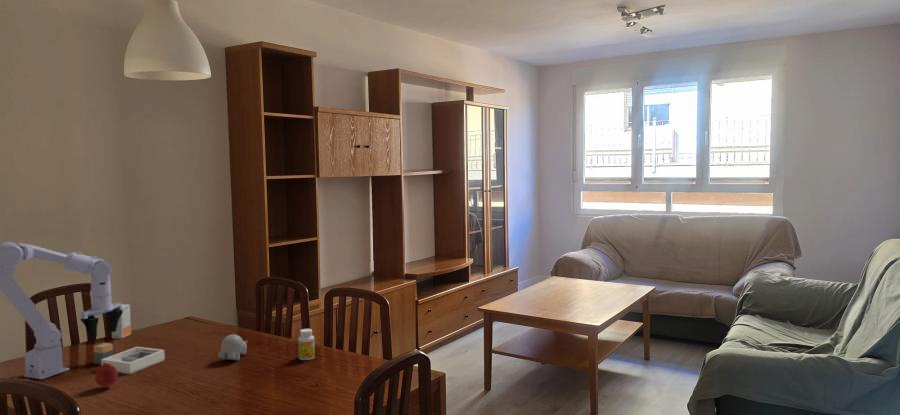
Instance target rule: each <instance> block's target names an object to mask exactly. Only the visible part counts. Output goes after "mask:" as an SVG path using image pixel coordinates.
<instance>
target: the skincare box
mask: <svg viewBox="0 0 900 415" xmlns="http://www.w3.org/2000/svg"><path fill="white" fill-rule="evenodd" d="M119 310H123V313H122V315H121V316H120V318H119V321H118V324H117V328H116V332H111V338H112V339H123V338H125V337H128V336H130V335H131V334H132V330H131V328H132V327H131V305H130V304H122V309H119Z"/></svg>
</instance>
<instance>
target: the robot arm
mask: <svg viewBox="0 0 900 415" xmlns="http://www.w3.org/2000/svg"><path fill="white" fill-rule="evenodd" d="M32 259H39V260H44V261H48V262H51V263H52V262H54V263H58V264H62V265H63V267H64V268H65V269H66V270H70V271H73V272H76V273H77V272H78V273H81V274H85V275H89V274H91V275H90V292H91V293H90V294H91V308H89V309H88V310H87V309H86V310H85V311H81V312H80V313H79V314H80V321H81V323H82V324H83V325H84V327H85V328H86V330H87V334H88V335H89V338H90V339H97V338H98V335H97V333H98V323H99V319H100V318H98V317H95V316H100V315H101V314H106V319H107V323H108V330H109V332H111V333H112V332H116V328H117V324H118V321H119V318H120V316H121V315H122V313H123V310H119V309H122V305H123V303H122V302H115V303H112V283H111V273H112V271H113V267H112V265H111V263H110V262H108V261H107V260H105V259H102V258H101V257H98V256H96V255H95V256H94V255H93V256H89V255H85V254H82V252H81V251H78V250H77V251H76V252H75V251H72V252H69V253H67V254H65V253H62V252H59V251H54V250H51V249H47V248H44V247H40V246H37V245H33V244H28V243H23V242H18V243H16V242H14V241H8V240H7V241H3V242H0V291H1V292H2V294H3V295H4V296H5V297H6V298H7V300H8V302H10V304H11V305H12V306H13V307H14V308H15V310H16V311H17V312H18V313H19V314H20V316H21V318H23V319H24V321H25V322H26V323H27V324H28V326H29V327H30V329H31V330H32V331H33V336H34V338H35V339H36V342H35V344H34V345H33V347H34V348H32V349H31V350H28V351H27V352H26V353H25V355H24V370H25V372H24V373H25V374H24V375H23V377H24V378H31V379H38V380H44V379H47V378H49V377H53V376H54V375H55V376H56V375H58V374H60V373H64V372H66V371H69V370H70V367H66V366H63V365H64V364H63V350H62V349H63V348H62V347H63V346H62V341H61V339H62V333H61V331H60V330H59V329H58V327H57V325H56V324H55V323H53V322H51V321H49V320H47V318H46V317H45V316H44V314H42V312H41V311H40V310H39V309H38V307H37V306H36V305H35V303H34V302H33V301H32V299H31V298H30V297H29V295H28V294H27V293H26V292H25V290H24V289H23V288H22V286H20V285H19V283H18V282H17V281H16V279H14V277H13V274H14V271H15V269H16V266H18V264H19V263H20V262H21V260H24V261H28V260H32Z"/></svg>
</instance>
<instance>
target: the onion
mask: <svg viewBox="0 0 900 415" xmlns="http://www.w3.org/2000/svg"><path fill="white" fill-rule="evenodd" d="M118 376H119V372H117V370H116V368H115V367H114V366H112V365H110V364H108V363H107V362H103V365H101V366H100V367H99V368H98V369H97V370H96V372H95V376H94V379H95V380H94V381H95V382H96V384H97V385H99V386H100V387H102V388H104V389H108V388H110V387H111V386H112V385H114V383H116V381H117V379H118Z"/></svg>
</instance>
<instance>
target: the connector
mask: <svg viewBox="0 0 900 415" xmlns="http://www.w3.org/2000/svg"><path fill="white" fill-rule="evenodd" d="M113 355H114V343H109V342H101V343H99V344H96V345H93V363H94V364H96V365H101V366H102V364H101V359H104V358H107V357H110V356H113Z"/></svg>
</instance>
